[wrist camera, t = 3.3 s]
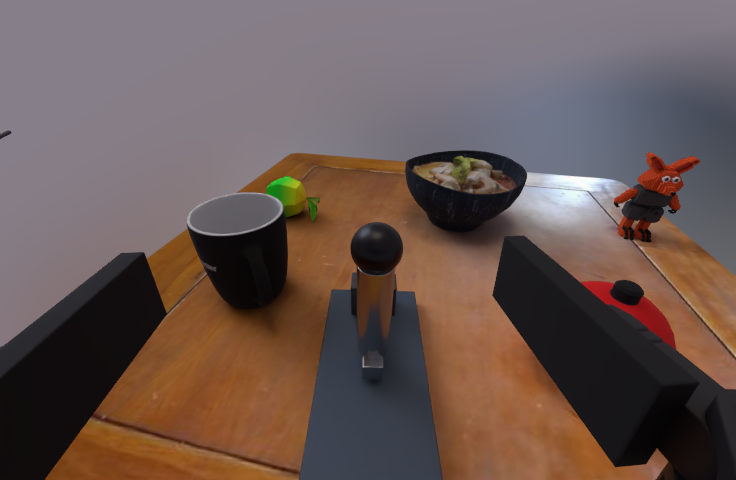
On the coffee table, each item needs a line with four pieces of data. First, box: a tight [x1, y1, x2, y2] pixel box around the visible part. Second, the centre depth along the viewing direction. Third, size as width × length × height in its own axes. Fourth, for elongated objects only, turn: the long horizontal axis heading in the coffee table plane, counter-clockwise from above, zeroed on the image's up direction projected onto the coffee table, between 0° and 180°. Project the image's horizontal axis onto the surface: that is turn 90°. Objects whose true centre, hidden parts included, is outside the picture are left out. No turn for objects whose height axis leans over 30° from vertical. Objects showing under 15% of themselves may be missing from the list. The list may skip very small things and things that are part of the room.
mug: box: [187, 193, 288, 308], centre depth 33 cm, size 12×9×10 cm
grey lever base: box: [299, 273, 443, 480], centre depth 26 cm, size 18×9×5 cm, turn 179°
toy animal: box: [614, 153, 700, 242], centre depth 44 cm, size 8×6×12 cm
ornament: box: [581, 280, 676, 350], centre depth 26 cm, size 9×9×10 cm
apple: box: [266, 176, 320, 222], centre depth 50 cm, size 7×6×9 cm
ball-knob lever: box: [351, 222, 403, 380], centre depth 26 cm, size 10×3×13 cm, turn 179°
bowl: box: [405, 151, 527, 232], centre depth 49 cm, size 17×17×10 cm
